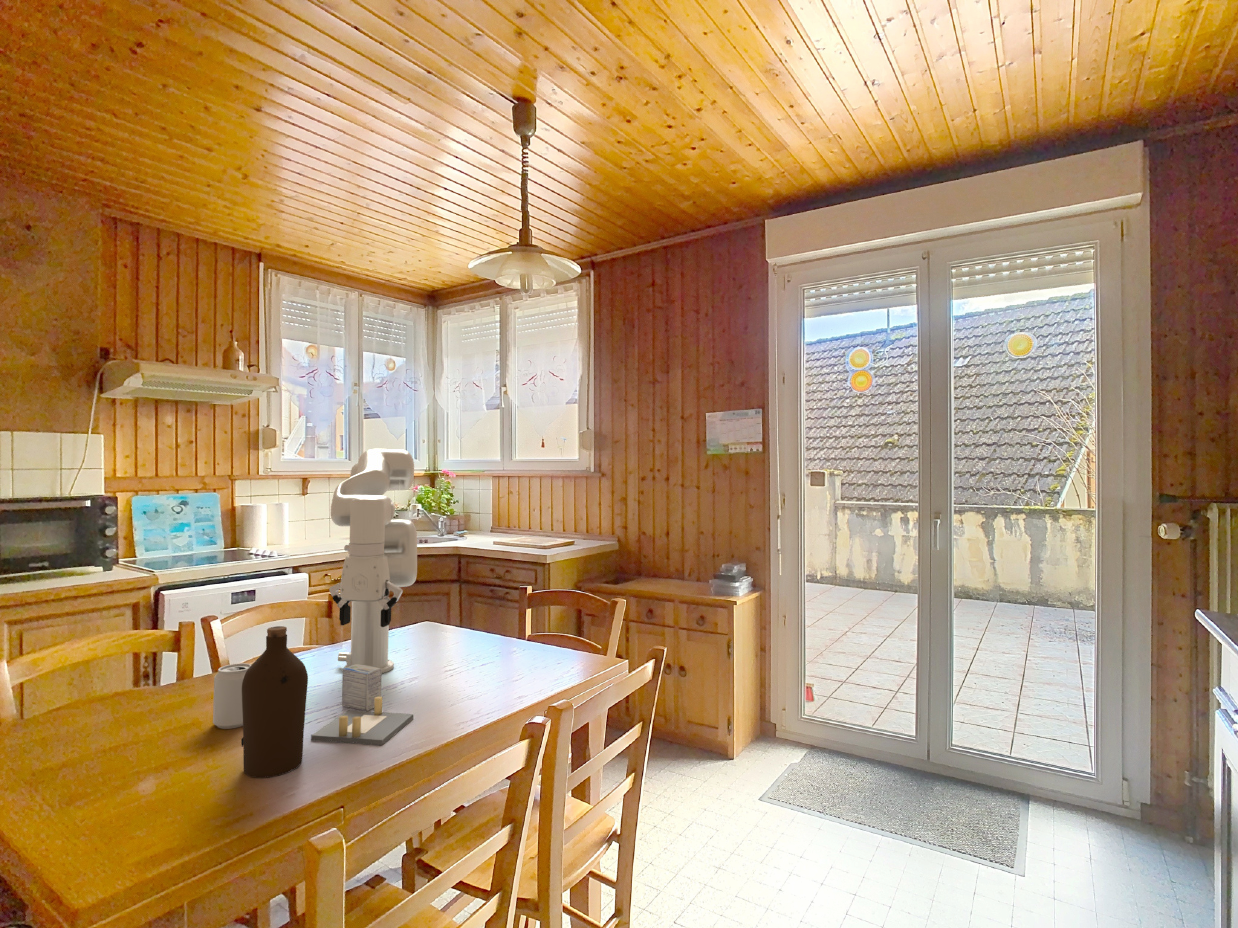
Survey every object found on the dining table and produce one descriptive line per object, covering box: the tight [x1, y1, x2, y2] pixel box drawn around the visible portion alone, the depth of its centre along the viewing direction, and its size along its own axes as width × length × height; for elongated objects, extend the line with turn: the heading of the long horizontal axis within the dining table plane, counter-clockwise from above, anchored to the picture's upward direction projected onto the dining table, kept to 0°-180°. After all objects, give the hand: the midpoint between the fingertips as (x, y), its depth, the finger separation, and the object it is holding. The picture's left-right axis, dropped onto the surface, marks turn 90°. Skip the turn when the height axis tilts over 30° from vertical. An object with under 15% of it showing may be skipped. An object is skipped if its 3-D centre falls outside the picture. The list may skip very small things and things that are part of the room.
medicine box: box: [341, 664, 382, 711], centre depth 147 cm, size 8×4×9 cm, turn 65°
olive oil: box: [240, 625, 309, 779], centre depth 117 cm, size 11×11×25 cm
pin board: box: [310, 696, 414, 746], centre depth 134 cm, size 15×14×4 cm
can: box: [212, 662, 252, 730], centre depth 136 cm, size 8×8×12 cm
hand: (365, 624), depth 148 cm, fingers open, 9 cm apart
